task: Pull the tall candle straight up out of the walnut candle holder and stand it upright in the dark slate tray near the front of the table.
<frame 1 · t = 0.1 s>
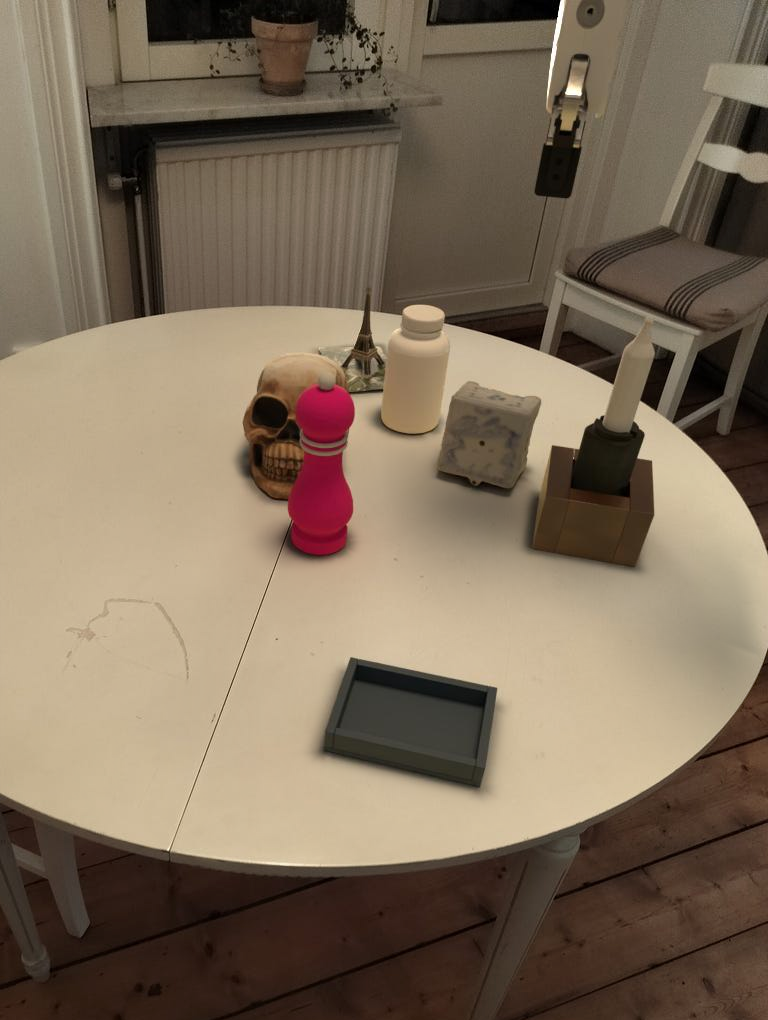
hand: (555, 180, 79), 35 cm above the table, tool pointing down, fingers open, 9 cm apart
holder: (584, 529, 100), on the table
candle: (584, 531, 100), resting in holder
pepper mill: (318, 540, 98), on the table
skull: (297, 459, 110), on the table
incense holder: (481, 472, 109), on the table
tray: (410, 727, 77), on the table
eiffel tower figurine: (359, 371, 129), on the table
pill bottle: (409, 422, 118), on the table
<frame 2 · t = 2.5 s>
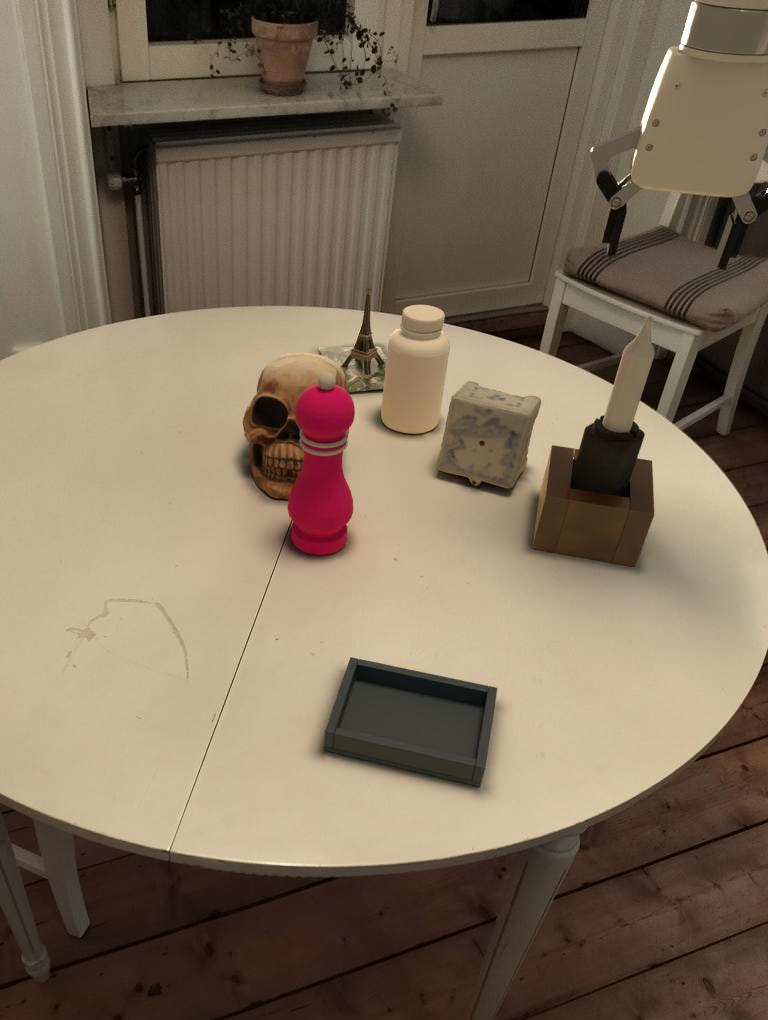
hand: (664, 258, 79), 30 cm above the table, tool pointing down, fingers open, 9 cm apart
nothing on the table moved.
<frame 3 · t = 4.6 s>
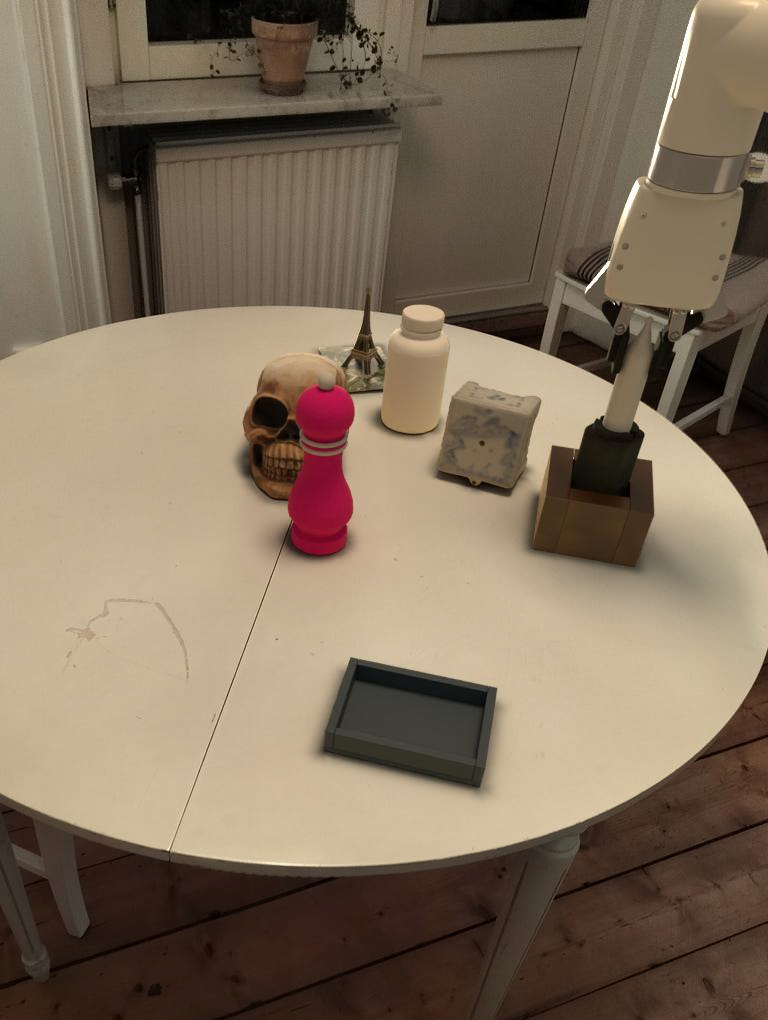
hand: (633, 369, 86), 20 cm above the table, tool pointing down, fingers closed on candle, 3 cm apart
candle: (584, 531, 100), resting in holder, touching gripper
everything else where it was.
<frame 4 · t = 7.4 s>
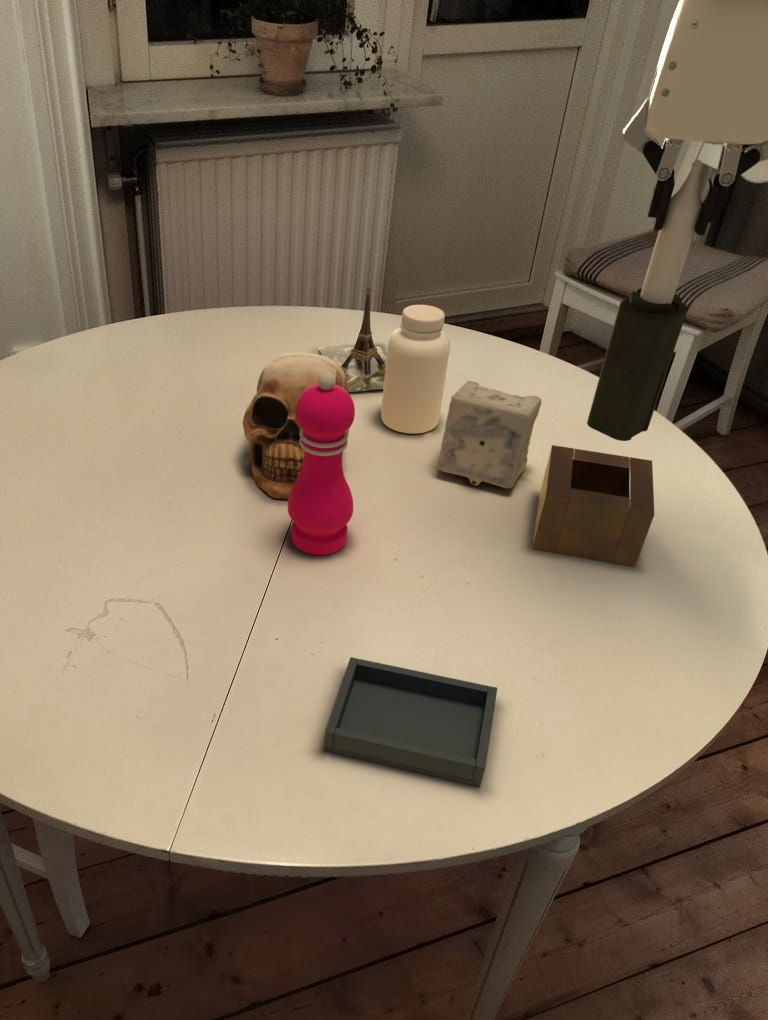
hand: (678, 226, 76), 33 cm above the table, tool pointing down, fingers closed on candle, 3 cm apart
candle: (616, 427, 90), point 14 cm above the table, touching gripper
everything else where it was.
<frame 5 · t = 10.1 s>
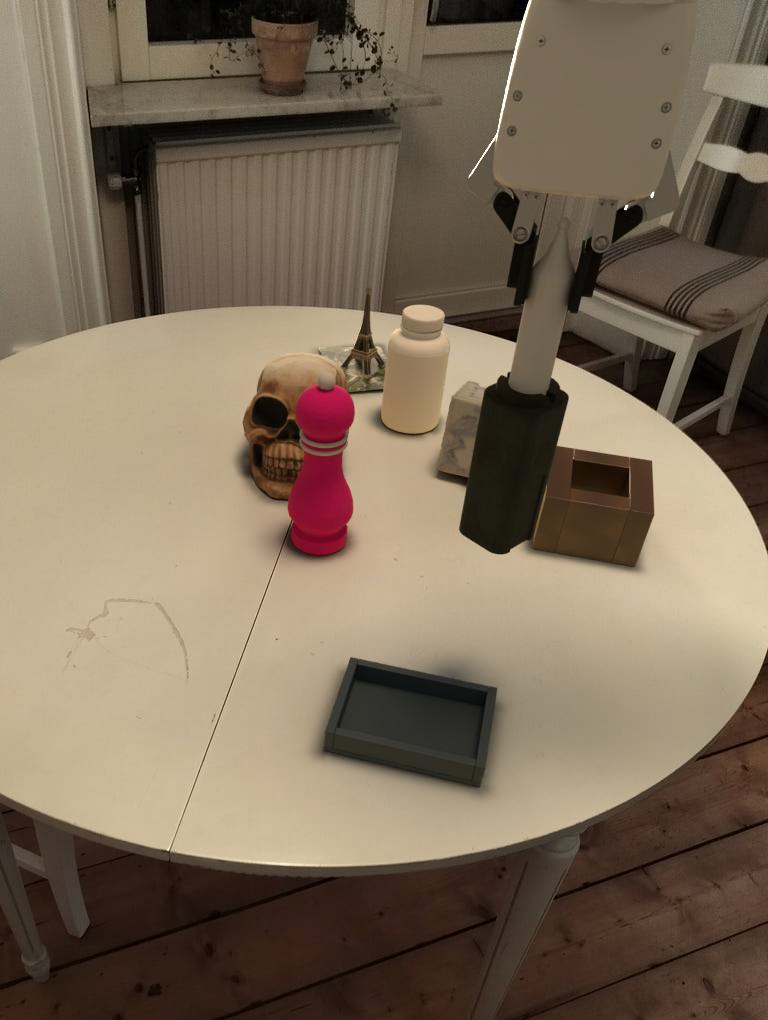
hand: (547, 299, 59), 35 cm above the table, tool pointing down, fingers closed on candle, 3 cm apart
candle: (495, 534, 73), point 15 cm above the table, touching gripper
everything else where it was.
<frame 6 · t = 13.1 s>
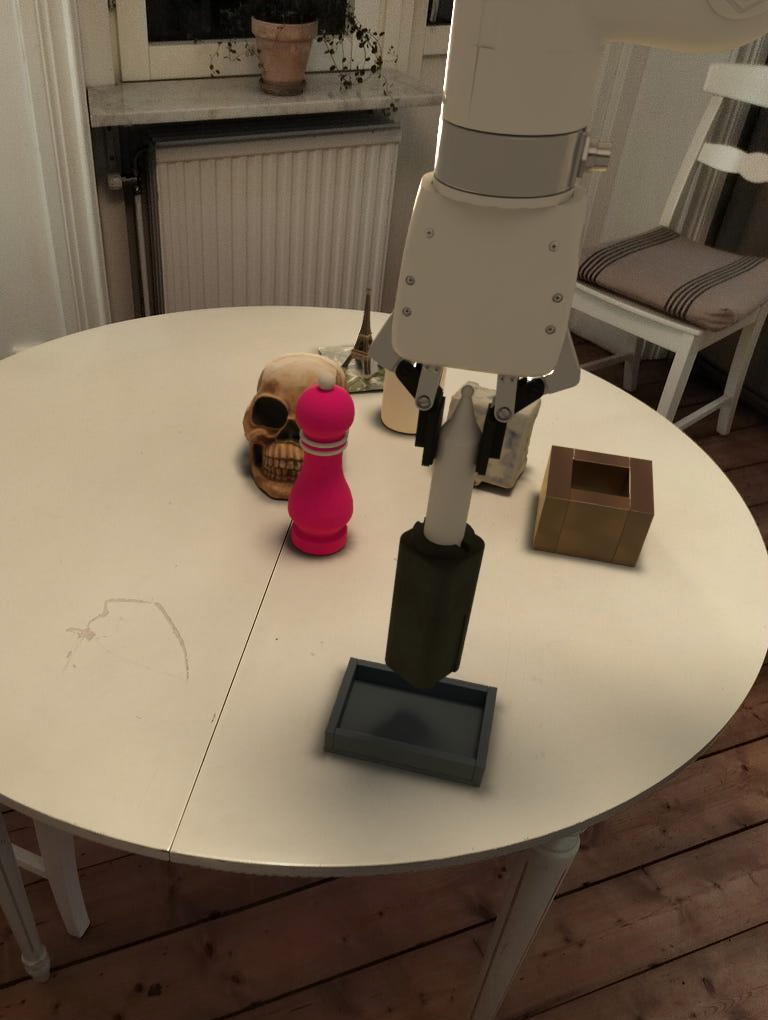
hand: (456, 458, 58), 28 cm above the table, tool pointing down, fingers closed on candle, 3 cm apart
candle: (421, 664, 72), point 8 cm above the table, touching gripper
everything else where it was.
when the fingers open (20 cm above the table, at t = 15.5 s): candle stays where it is, resting on tray.
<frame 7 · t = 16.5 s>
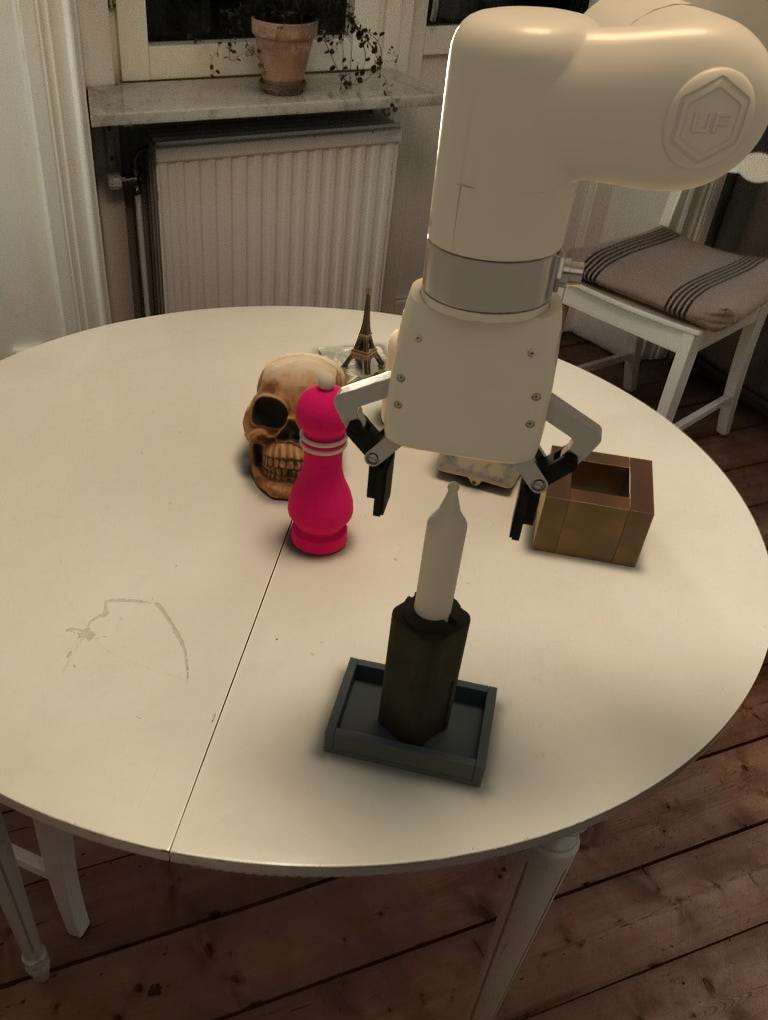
hand: (447, 517, 61), 23 cm above the table, tool pointing down, fingers open, 9 cm apart
candle: (412, 723, 77), resting on tray
everything else where it was.
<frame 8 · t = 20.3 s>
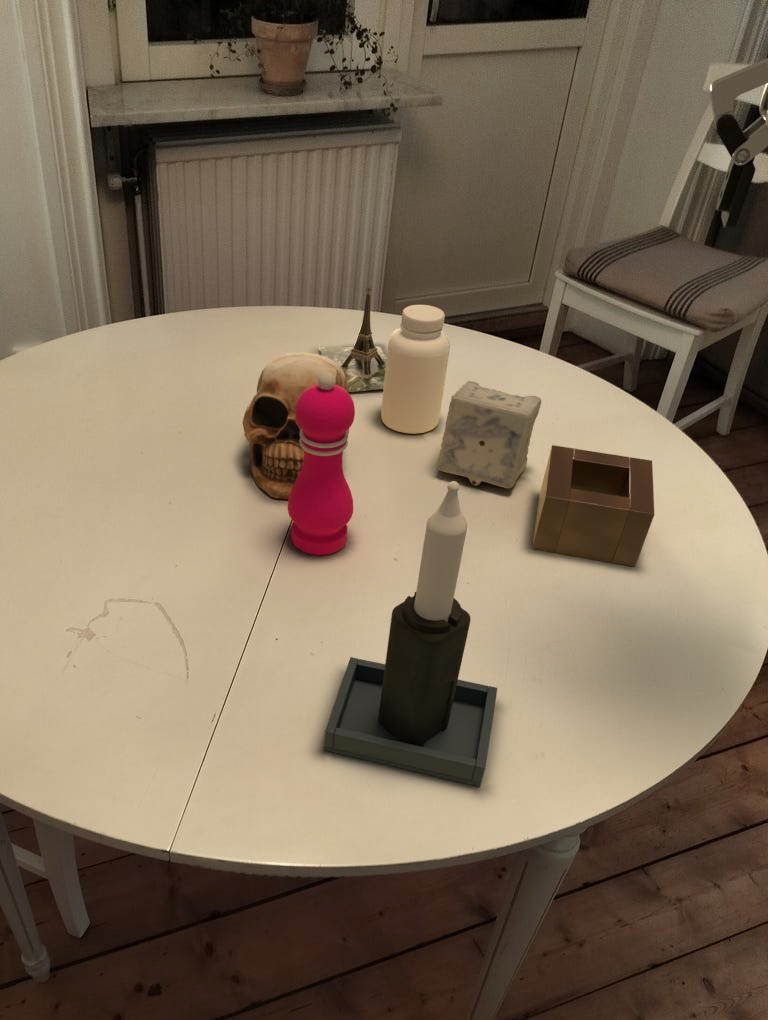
nothing on the table moved.
at the end: candle inside the target area in the tray (0.3 cm from its centre), point 0.3 cm above the tray's base; candle tilted 0°; candle touching tray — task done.
